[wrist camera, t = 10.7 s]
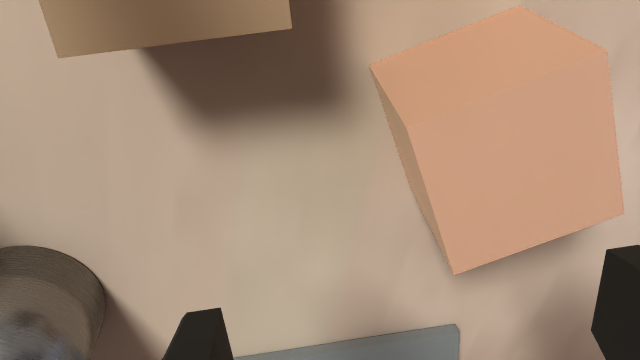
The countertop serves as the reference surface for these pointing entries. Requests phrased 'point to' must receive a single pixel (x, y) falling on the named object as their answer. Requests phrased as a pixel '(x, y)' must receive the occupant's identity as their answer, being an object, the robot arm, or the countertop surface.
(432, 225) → the terracotta block
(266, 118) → the countertop surface
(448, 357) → the mat
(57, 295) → the metal canister
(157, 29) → the walnut block
